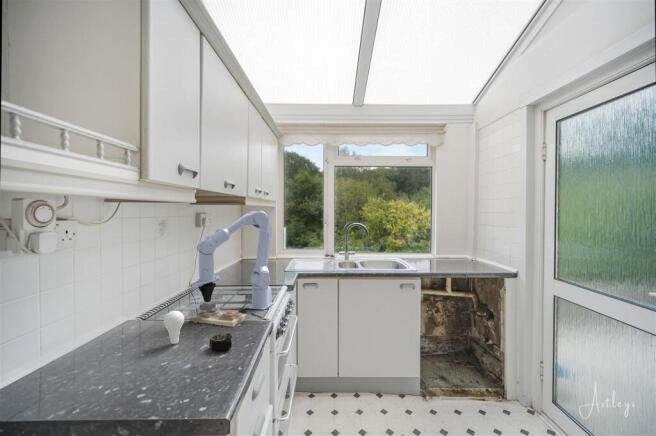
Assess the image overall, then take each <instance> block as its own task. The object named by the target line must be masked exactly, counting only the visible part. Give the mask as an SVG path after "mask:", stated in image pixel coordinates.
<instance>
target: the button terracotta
mask: <svg viewBox="0 0 656 436" xmlns="http://www.w3.org/2000/svg"><path fill="white" fill-rule="evenodd" d="M224 312H225V313H223V314H222V317H231V318H232V317H234V316H236V315H238V313H239V310H231V309H228V310H226V311H224Z"/></svg>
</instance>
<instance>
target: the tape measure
mask: <svg viewBox="0 0 656 436" xmlns="http://www.w3.org/2000/svg"><path fill="white" fill-rule="evenodd" d="M232 338H233V337H232V335H231V333H230V332H229V333H218V334H214V335H213V336H211V337H210V339H209V343H208V344H209V349H210V350H212V351H213V352H222V351H225V350H229V349H231V348H232V346H233V344H232V343H233V342H232Z"/></svg>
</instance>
